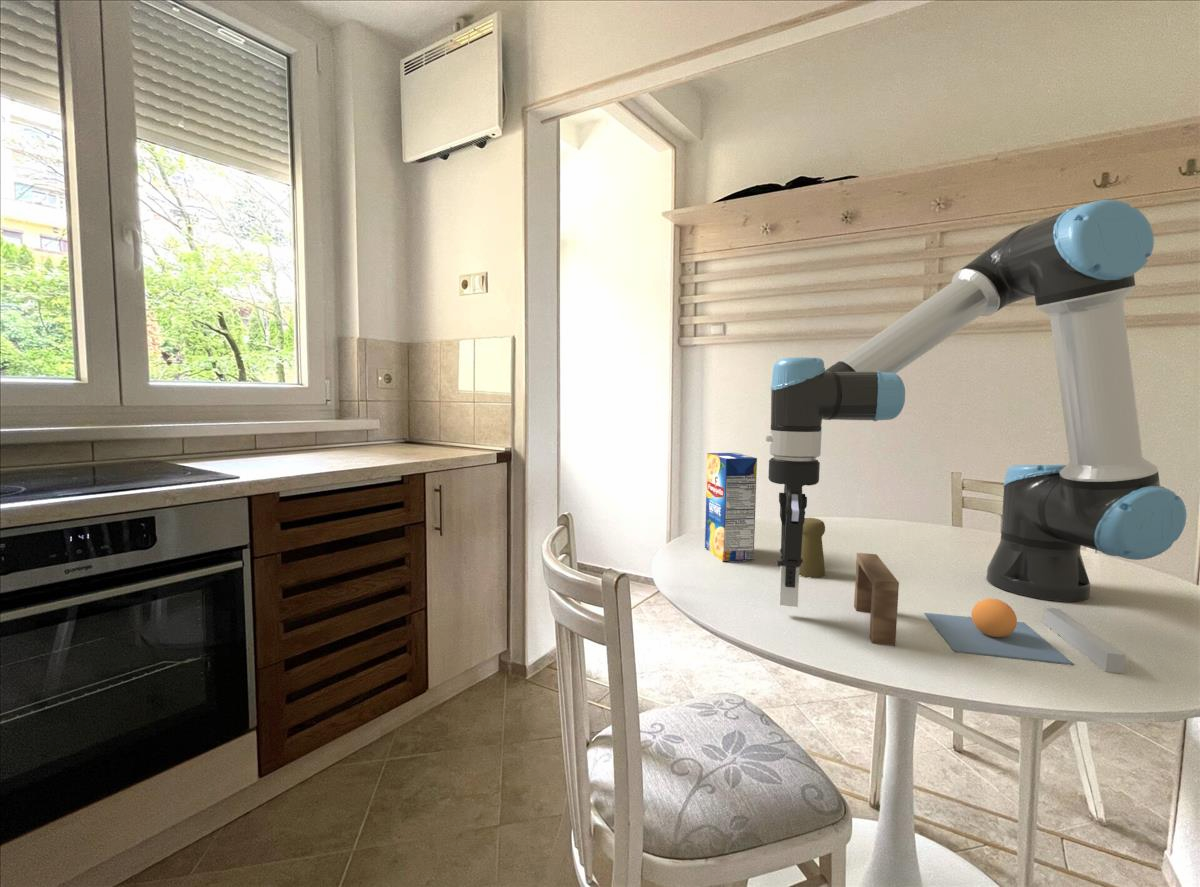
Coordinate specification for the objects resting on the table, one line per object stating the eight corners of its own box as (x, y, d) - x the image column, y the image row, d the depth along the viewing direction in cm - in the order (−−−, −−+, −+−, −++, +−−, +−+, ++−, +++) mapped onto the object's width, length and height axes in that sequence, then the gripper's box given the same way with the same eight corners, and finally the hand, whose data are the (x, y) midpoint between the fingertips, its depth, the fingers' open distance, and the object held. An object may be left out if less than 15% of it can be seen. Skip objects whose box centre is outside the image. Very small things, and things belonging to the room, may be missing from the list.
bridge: (873, 608, 94) (876, 554, 93) (895, 645, 80) (898, 582, 79) (854, 606, 94) (856, 552, 94) (872, 643, 80) (875, 580, 80)
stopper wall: (1058, 624, 88) (1059, 609, 87) (1123, 673, 72) (1125, 655, 72) (1043, 623, 88) (1044, 607, 88) (1105, 671, 73) (1107, 652, 72)
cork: (828, 579, 108) (830, 523, 107) (795, 576, 110) (797, 521, 109) (822, 569, 114) (824, 516, 113) (791, 567, 115) (793, 514, 114)
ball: (1013, 602, 85) (975, 587, 86) (1031, 617, 79) (991, 600, 80) (996, 633, 86) (959, 618, 87) (1013, 650, 80) (973, 633, 81)
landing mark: (1023, 623, 88) (1024, 622, 88) (1073, 665, 74) (1073, 663, 74) (924, 613, 91) (924, 612, 91) (954, 651, 78) (954, 650, 78)
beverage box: (723, 562, 119) (726, 458, 117) (704, 548, 129) (707, 453, 127) (753, 560, 120) (757, 458, 118) (732, 547, 131) (735, 452, 129)
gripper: (767, 452, 95) (763, 588, 97) (770, 461, 83) (765, 617, 85) (815, 454, 93) (809, 592, 95) (825, 463, 81) (818, 622, 83)
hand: (788, 604), depth 90 cm, fingers closed
